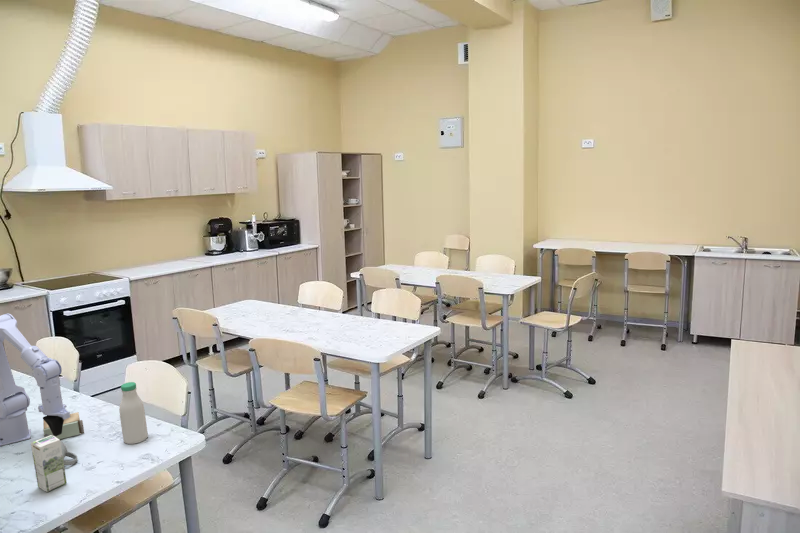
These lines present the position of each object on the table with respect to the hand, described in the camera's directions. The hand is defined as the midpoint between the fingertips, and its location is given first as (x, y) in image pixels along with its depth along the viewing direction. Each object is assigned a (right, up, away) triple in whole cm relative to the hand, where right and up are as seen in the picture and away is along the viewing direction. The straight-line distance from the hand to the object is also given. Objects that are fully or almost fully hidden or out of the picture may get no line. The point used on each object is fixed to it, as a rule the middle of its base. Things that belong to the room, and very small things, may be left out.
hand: (57, 434), depth 196 cm
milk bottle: (+25, -3, +3) cm, 25 cm away
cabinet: (-4, -2, +10) cm, 11 cm away
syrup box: (+13, -8, -24) cm, 28 cm away
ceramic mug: (+7, -7, -12) cm, 15 cm away
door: (-1, -3, +6) cm, 7 cm away
